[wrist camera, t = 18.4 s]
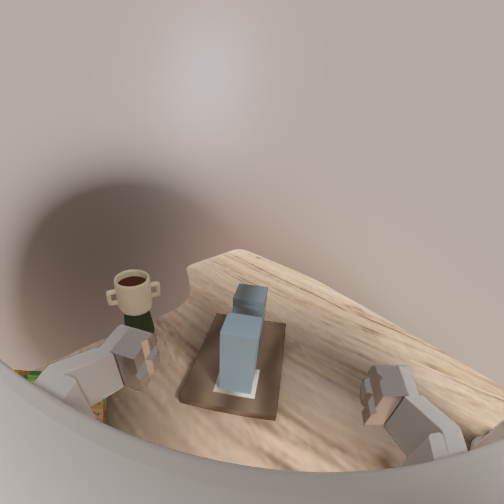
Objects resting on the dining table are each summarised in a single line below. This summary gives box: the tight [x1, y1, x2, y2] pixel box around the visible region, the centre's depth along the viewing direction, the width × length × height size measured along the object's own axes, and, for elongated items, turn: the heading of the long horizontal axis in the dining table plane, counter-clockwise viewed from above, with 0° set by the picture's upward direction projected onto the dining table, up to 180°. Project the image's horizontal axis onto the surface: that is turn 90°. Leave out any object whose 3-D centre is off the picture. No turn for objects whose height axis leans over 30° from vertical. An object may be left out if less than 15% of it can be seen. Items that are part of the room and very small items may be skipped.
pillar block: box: [219, 312, 262, 394], centre depth 40 cm, size 5×5×12 cm
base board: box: [180, 283, 286, 421], centre depth 46 cm, size 15×24×14 cm, turn 172°
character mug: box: [106, 269, 161, 333], centre depth 50 cm, size 11×7×13 cm, turn 123°
